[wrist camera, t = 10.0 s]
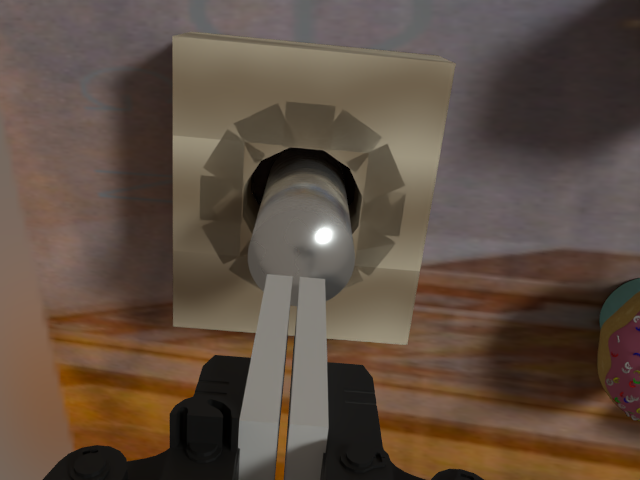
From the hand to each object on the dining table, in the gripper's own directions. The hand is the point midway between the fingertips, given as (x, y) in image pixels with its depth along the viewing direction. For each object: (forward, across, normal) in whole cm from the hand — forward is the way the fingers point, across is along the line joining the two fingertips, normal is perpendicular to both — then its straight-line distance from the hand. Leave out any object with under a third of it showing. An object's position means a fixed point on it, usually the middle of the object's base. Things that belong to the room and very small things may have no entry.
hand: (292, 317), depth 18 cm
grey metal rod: (+14, 0, 0) cm, 14 cm away
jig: (+14, 0, 0) cm, 14 cm away
